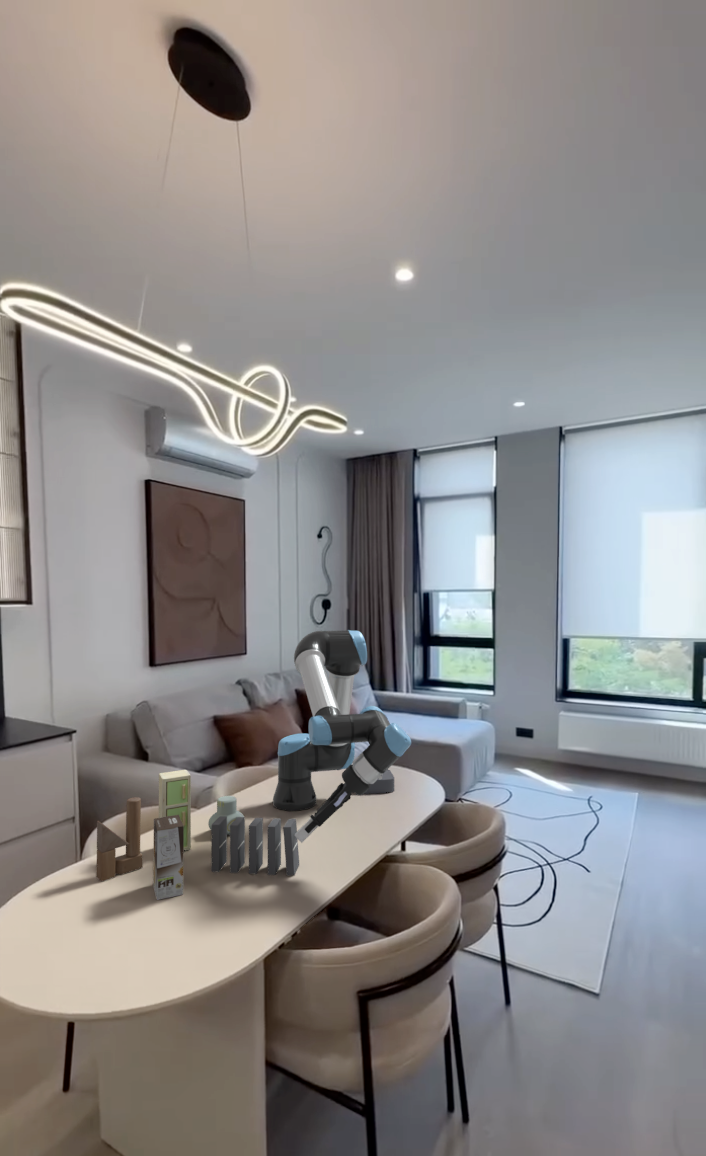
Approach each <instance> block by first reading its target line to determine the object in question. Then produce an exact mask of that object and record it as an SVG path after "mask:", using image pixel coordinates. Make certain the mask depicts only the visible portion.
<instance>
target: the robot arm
mask: <svg viewBox="0 0 706 1156" xmlns="http://www.w3.org/2000/svg"><path fill="white" fill-rule="evenodd" d="M367 650H368V649H367V643H366V640H365V637H364V635H363V634H362V632H361V631H359V630H350V629H347V630H317V631H316V630H315V631H312V632H310V633H308V634H306V635H305V636H304V637H302V638H301V640H300V641H299V643H298V644H297V646H296V647H295V650H294V654H293V662H294V667H295V669H296V671H297V672H298V673H300V675H301V680H302V683H303V687H304V689H305V693H306V696H307V701H308V704H309V707H310V710H311V714H312V716H311V717H310V718H309V720H308V733H304V732H303V733H294V734H291V735H287V736H285V737H283V738H281V739H280V740H279V741H278V747H277V748H278V749H277V762H278V763H277V765H278V766H277V774H278V775H277V784H276V787H275V791H274V794H273V799H272V801H273V802H272V804H273V807H274V808H276V809H278V810H282V811H288V812H289V811H292V812H293V811H295V812H296V811H302V810H308V809H310V808H313V807H315V806H316V805H317V795H316V791H315V789H314V785H313V782H312V773H316V772H329V771H340V770H344V771H343V772H342V773H341V777H342V780H343V782H344V783H343V782H340V783H339V784H338V785H337V786H336V787H337V788H336V789H335V790H334V791H333V792H332V793H331V795H330V796H329V797H328V798H327V799H326V800H325V801H324V802H323V803H322V805H320V807H318V808H317V809H316V812H314V814H311V815H310V816H309V819H308V820H307V821H306V822H305V823H304V824H303V825H302V826H301V827H300V828H299V829H297V832H296V833H295V836H296V838H297V839H298V842H300V844H303V843H304V841H305V840H306V839H308V838H309V836H310V835H312V833H314V831H316V830H317V828H319V827H322V825H323V824H325V823H326V821H327V820H328V819H329V818H330V817H331V816H333V815H335V813H336V812H337V811H338V810H339V809H341V808H342V807H343V806H344V804H345V803H347V802H348V801H349V800H350V799H351V796H352V795H353V794H352V793H354V794H356V795H357V796H360V797H361V796H363V795H365V794H364V793H365V792H366V791H367V790H368V789H369V788H370V785H371V784H373V783H374V782H375V781H376V780H377V779H380V780H381V779H382V776H381V775H382V774H383V773H384V772H385V771H387V770H390V768H391V767H392V766H393V765H394V764H395V762H397V761H398V760H399V759H400V758H401V757H402V756H403V755H404V754H405V752H406V751H407V750H408V749H409V748H410V746H411V745H412V739H411V737H410V736H409V735H408V734H407V732H406V731H405V730H404V729H403V727H401V726H400V725H399V724H398V723H395V722H392V723H390V721H389V719H388V716H387V715H386V714H385V712H384V711H383V710H382V709H381V708H380V707H378V706H374V705H369V706H367V707H365V708H363V709H362V710H361V711H360V712H359V713H353V714H352V713H350V711H351V705H352V704H351V703H352V695H353V689H354V688H353V687H354V680H355V676H356V675H358V673H359V672H360V667H361V666H364V665H366V664H367V662H368V651H367ZM327 672H328V674H327ZM355 743H356V744H357V743H368V744H369V745H368V746H367V747H366V748H365V749H364V750H363V751H362V752H361V753H360V754H359V755H358V756H357V757H356V758H355V753H356V752H355V749H356V745H355Z"/></svg>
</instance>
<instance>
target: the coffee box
mask: <svg viewBox="0 0 706 1156" xmlns="http://www.w3.org/2000/svg"><path fill="white" fill-rule="evenodd" d="M184 855H185V853H184V825H183V823H182V821H181V819H180V816H179V815H172V816H166V817H162V818H159V817H157V818H153V858H152V860H153V863H152V864H153V869H152V873H153V877H152V879H153V881H152V885H153V890H154V895H155V899H156V901H157V900H158V901H159V900H163V899H169V898H172V897H178V896H182V895H183V894H184Z"/></svg>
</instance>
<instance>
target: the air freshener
mask: <svg viewBox="0 0 706 1156" xmlns="http://www.w3.org/2000/svg"><path fill="white" fill-rule="evenodd" d="M237 807H238V806H237V797H235V796H234V795H224V796H220V797H218V798H217V799H216V812H215V813H213V814H212V815H211V816H210V818H209V820H208V823H207V824H208V827H209V830H210V832H212V824H213V823H214V822H215V821H216V820H217V819H218V818H219V817H220V816H226V817H227V836H230V825H231V824H232V823H233V822H234V820H235V819H236V818H237V817H245V816H244V814H243V813H242V812H241V811H239V810H238V809H237Z"/></svg>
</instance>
